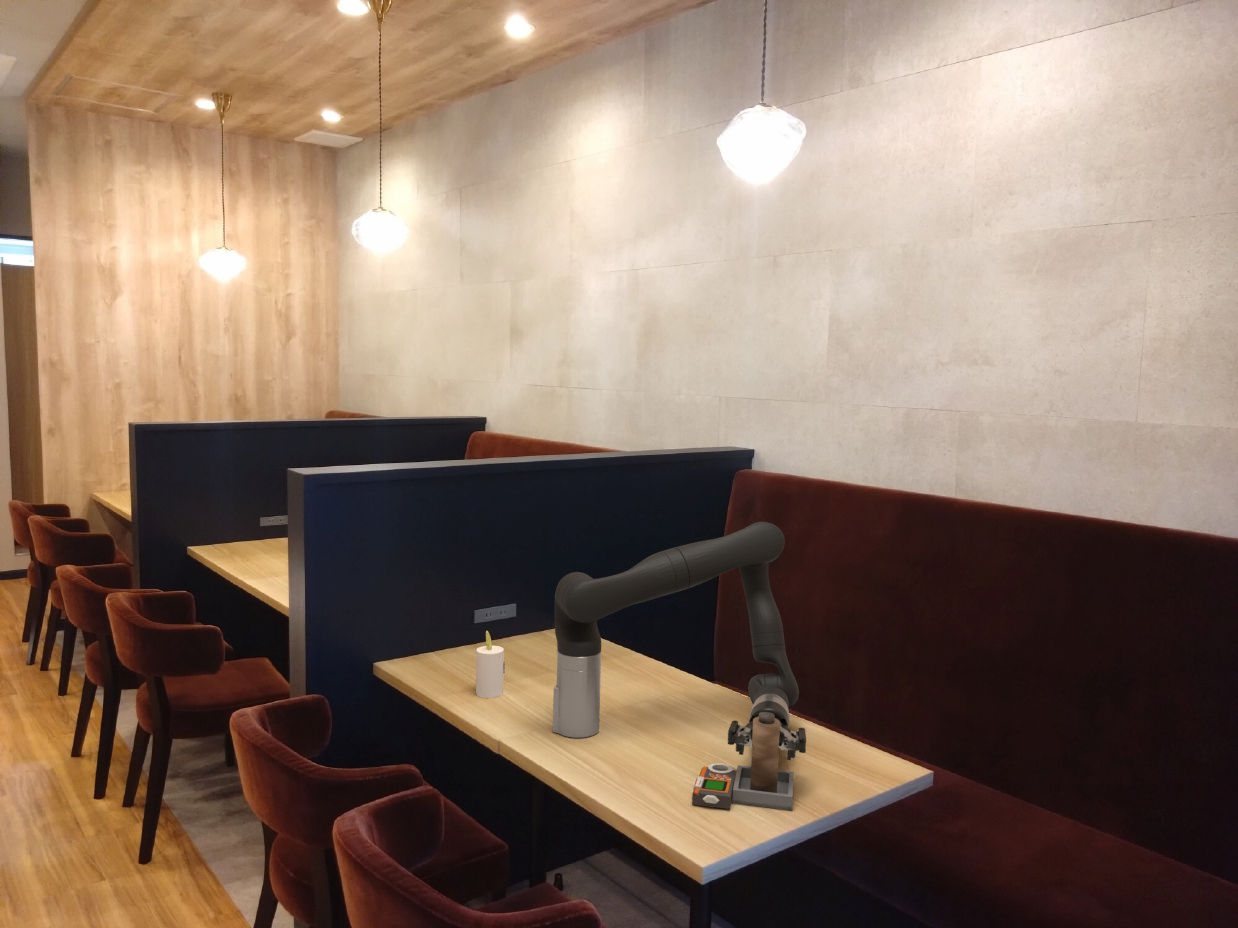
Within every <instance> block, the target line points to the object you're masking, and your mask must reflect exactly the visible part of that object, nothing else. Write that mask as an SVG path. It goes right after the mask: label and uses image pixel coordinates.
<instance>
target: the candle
mask: <svg viewBox="0 0 1238 928" xmlns="http://www.w3.org/2000/svg"><path fill="white" fill-rule="evenodd" d="M504 657H505V648H503V646H498V645H493V644H492V638H491V635H490V632H489V631H488V630H486V631H485V645H483V646H480V647H477V648H476V655H475V658H476V659H475V660H476V661H475V663H476V665H475V671H476V672H475V679H476V680H475V682H476V683H475V694H476V696H477V697H478V698H482V699H496V698H499V697H501V696H503V695H504V679H505V678H504V675H505V672H506V671H505V668H506V667H505V665H506V664H505V659H504Z"/></svg>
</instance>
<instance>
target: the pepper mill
mask: <svg viewBox="0 0 1238 928" xmlns="http://www.w3.org/2000/svg"><path fill="white" fill-rule="evenodd" d="M779 734H780V721H779V720H778V719H776V718H775V715H774V714H773V713H770V712H761V713H759V717H756V718H754V719H753V735H752V746H751V762H750V763H751V765H750V767H751V784H750V790H755V791H763V792H772V793H777V780H778V770H779V754H780V753H779V752H780V748H779Z"/></svg>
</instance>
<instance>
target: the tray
mask: <svg viewBox="0 0 1238 928" xmlns="http://www.w3.org/2000/svg"><path fill="white" fill-rule="evenodd" d="M736 770H737V772H736V777H735V782H734V787H733V797H732V801H731V804H735V805H743V806H750V807H751V806H752V807H760V808H767V809H774V810H775V809H776V810H781V811H782V810H783V811H793V799H794V798H793V796H794V780H795V779H794V777H795V771H792V770H784V769H778V780H777V793H772V792H763V791H755V790H750V784H751V765H750V766H749V765H748V766H747V765H740V764H737V767H736Z"/></svg>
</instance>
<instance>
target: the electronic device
mask: <svg viewBox="0 0 1238 928" xmlns="http://www.w3.org/2000/svg"><path fill="white" fill-rule="evenodd" d="M736 772H737V769H734V768H733V766H731V765H730V764H727V763H720V762H717V763H710V764H709V765H708V766H703V767H701V770H700V772H699V775H698V776H697V777H696V780H695V783H694V785H693V787H692V788H693V790H692V797H691V804H692V805H694V806H702V807H703V806H704V807H708V808H709V807H710V808H719V809H727V810H730V808H731V805H732V802H733V787H734V782H735V777H736Z"/></svg>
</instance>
